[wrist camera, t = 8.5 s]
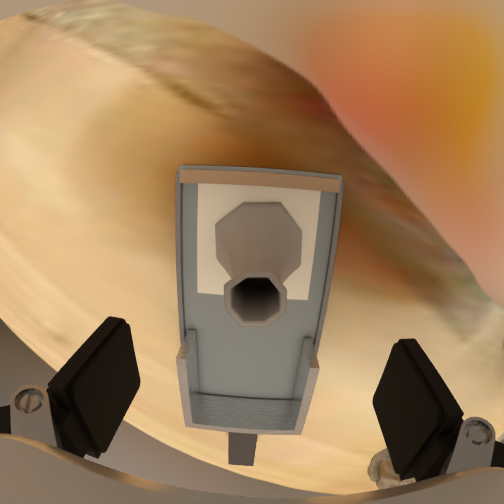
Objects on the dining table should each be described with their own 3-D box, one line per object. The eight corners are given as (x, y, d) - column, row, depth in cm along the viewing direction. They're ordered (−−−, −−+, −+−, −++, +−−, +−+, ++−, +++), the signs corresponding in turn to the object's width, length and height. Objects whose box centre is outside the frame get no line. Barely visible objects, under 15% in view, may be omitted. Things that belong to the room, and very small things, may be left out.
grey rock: (442, 457, 36) (463, 509, 22) (367, 484, 39) (377, 542, 25) (454, 413, 33) (487, 475, 19) (365, 446, 36) (380, 521, 21)
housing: (312, 338, 26) (319, 368, 22) (287, 445, 31) (288, 471, 27) (187, 329, 26) (176, 358, 22) (198, 439, 32) (192, 464, 27)
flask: (200, 216, 23) (159, 255, 13) (287, 187, 22) (307, 206, 12) (232, 295, 25) (215, 371, 15) (313, 270, 24) (341, 338, 14)
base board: (339, 175, 23) (347, 176, 20) (300, 407, 31) (301, 421, 28) (181, 165, 23) (173, 165, 21) (190, 399, 31) (186, 413, 29)
